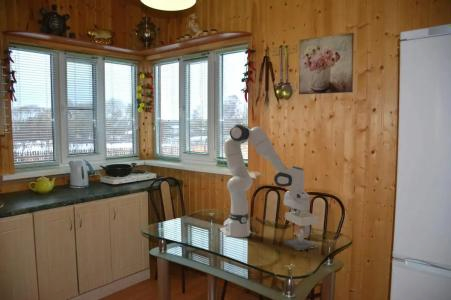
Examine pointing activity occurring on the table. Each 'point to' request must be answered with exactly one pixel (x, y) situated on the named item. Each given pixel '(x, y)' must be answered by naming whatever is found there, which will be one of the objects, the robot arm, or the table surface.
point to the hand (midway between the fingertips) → (295, 215)
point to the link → (302, 218)
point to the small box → (302, 230)
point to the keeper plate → (302, 246)
